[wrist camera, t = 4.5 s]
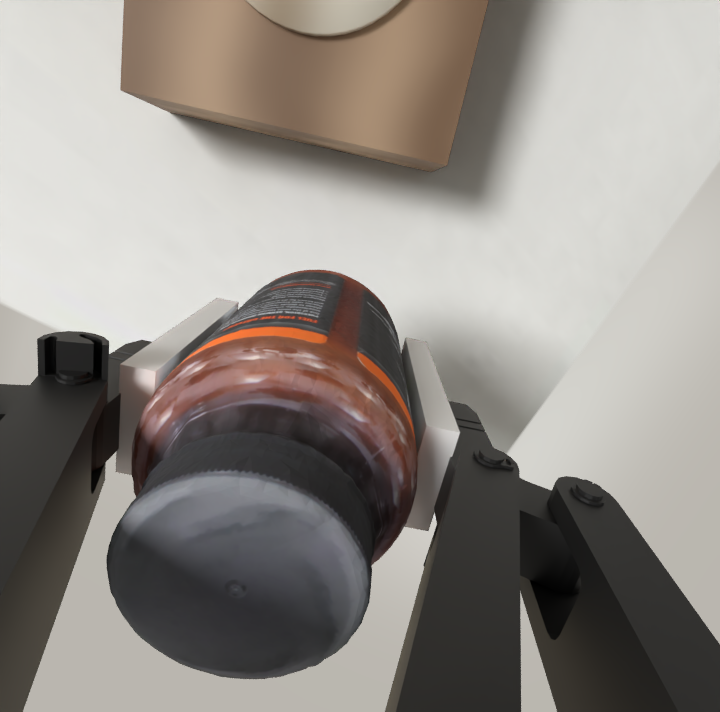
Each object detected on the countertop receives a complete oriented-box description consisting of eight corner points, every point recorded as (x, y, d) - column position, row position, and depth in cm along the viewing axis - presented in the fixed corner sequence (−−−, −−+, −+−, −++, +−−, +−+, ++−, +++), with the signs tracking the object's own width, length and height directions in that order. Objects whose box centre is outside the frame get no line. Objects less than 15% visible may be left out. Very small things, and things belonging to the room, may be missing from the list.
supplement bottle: (208, 329, 17) (-59, 547, 7) (333, 231, 16) (252, 309, 5) (307, 443, 19) (220, 770, 8) (429, 362, 18) (516, 627, 7)
